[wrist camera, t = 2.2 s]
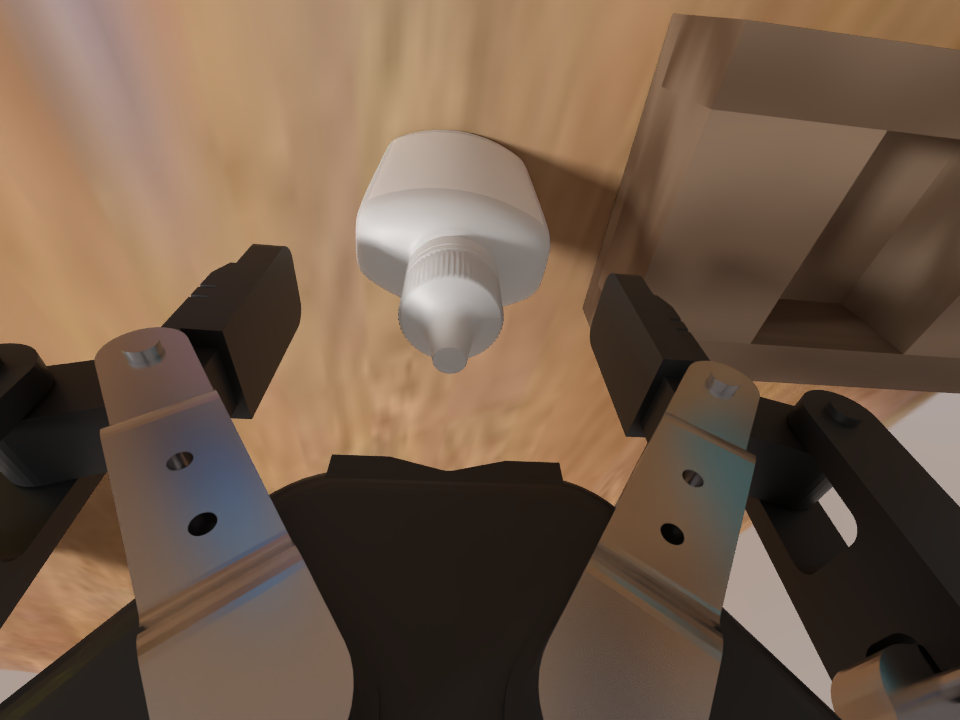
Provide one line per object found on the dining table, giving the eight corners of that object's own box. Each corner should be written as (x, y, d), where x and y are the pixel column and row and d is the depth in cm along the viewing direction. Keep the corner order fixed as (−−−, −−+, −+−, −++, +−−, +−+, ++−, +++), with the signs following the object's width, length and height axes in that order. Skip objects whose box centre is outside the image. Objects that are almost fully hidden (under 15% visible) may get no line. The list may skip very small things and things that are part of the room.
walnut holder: (672, 13, 15) (746, 20, 11) (1124, 77, 16) (1324, 102, 13) (582, 308, 22) (607, 372, 19) (896, 331, 24) (977, 394, 20)
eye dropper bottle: (429, 76, 16) (383, 188, 7) (541, 174, 18) (622, 358, 9) (370, 175, 18) (273, 363, 9) (477, 251, 20) (489, 463, 11)
